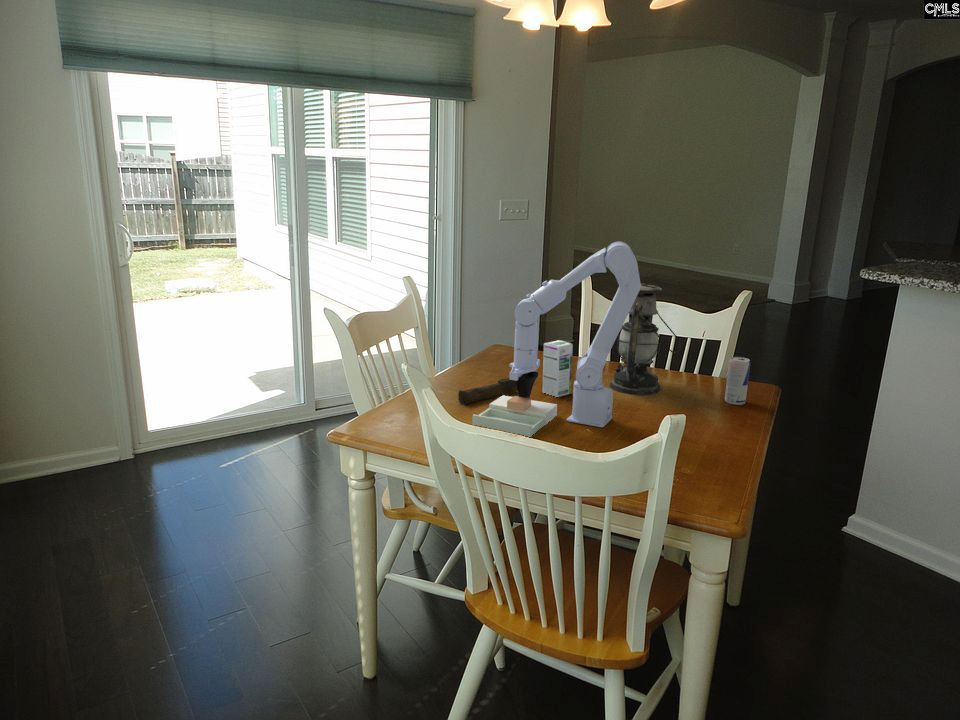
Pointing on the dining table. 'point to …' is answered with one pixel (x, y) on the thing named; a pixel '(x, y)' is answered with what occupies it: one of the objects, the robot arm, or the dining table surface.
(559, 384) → the syrup box
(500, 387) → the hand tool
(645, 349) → the lantern
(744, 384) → the energy drink
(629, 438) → the dining table surface
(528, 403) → the terracotta tile
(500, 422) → the tray
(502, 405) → the white drawer casing
